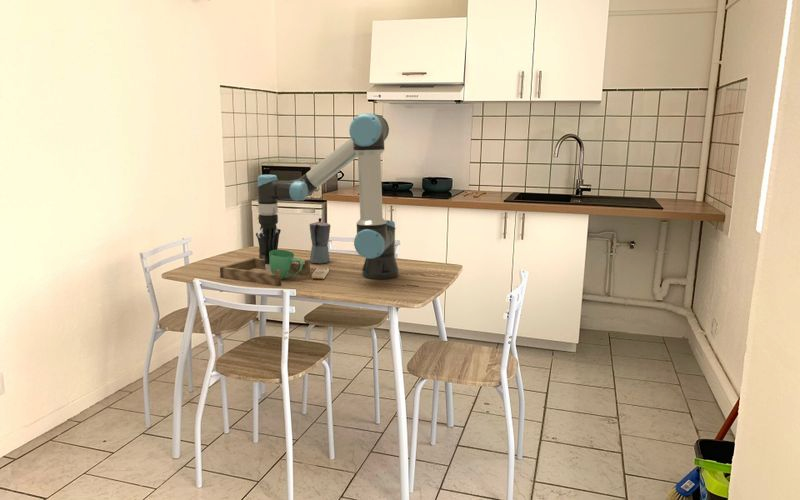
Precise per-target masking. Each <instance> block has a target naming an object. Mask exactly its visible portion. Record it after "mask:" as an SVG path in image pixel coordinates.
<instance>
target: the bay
mask: <svg viewBox="0 0 800 500" xmlns="http://www.w3.org/2000/svg"><path fill="white" fill-rule="evenodd" d="M258 256H259V257H253V258H249V259H245V260H242V261H238V262H235V263H234V262H233V263H230V264H227V265H224V266H220V267H219V275H220V278H222V279H223V278H224V279H230V280H237V281H243V282H250V283H256V282H257V283H258V284H263V285H271V286H276V287H280V286H282V279H281V270H278V269H277V270H275V274H272V273H271V272H262V271H255V270H253V269H261V270H266V266H265V256H262V255H261V253H260V248H258ZM298 269H299V262H296V263H295V262H292V263H291V267H290V269H289V271H288V273H287V274H293V273H294V272H295V271H297V270H298ZM297 274H298V275H303V276H309V275H311V262H310V259H305V260H304V263H303V266H302V270H301V271H300V272H299V273H297ZM297 274H296V275H297Z"/></svg>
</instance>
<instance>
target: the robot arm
mask: <svg viewBox="0 0 800 500" xmlns="http://www.w3.org/2000/svg"><path fill="white" fill-rule="evenodd" d="M348 130H349V131H348V133H349V136H350V138H349V139H347V140H346V141H345V142H344V143H342V144H341V145H340V146H339V147H337V148H336V149H335V150H333V151H332V152H331V153H330V154H329V155H328V156H326V157H325V158H324V159H322V160H321V161H319V162H318V163H317V164H316V165H315V166H314V167H312V168H311V169H310V170H309V171H307V172H306V173H305V174H303V175H302V176H300V177H299V178H297V179H294V180H279V179H278V177H277V175H276V174H260V175H258V176H257V185H256V188H257V203H258V206H257V207H258V210H257V211H258V224H260V228H259V231H258V232H256V233H255V236H256V238H257V243H258V246H259V248H258V249H260V253H261V255H262V256H265V266H266V269H265V273H272V271H271V267H270V259H269V252H270V251H271V250H279V239H280V234H281V232H282V231H281V229H280V228H277V224H278V222H279V216H278V213H279V211H278V210H279V209H278V206H279V205H278V200H281V201H282V200H284V201H295V202H298V201H305V200H306V199H307V197H309V196H311V195H312V194H314V192H315V191H316V190H317V189H318V188H319V187H320V186H322V185H324V183H326V182H327V181H328V180H329V179H331V178H332V177H334V176H335V175H337V173H338V172H340V171H342V170H343V169H344V168H345V167H347V166H348V165H349V164H350V163H352V162H353V161H354V160H355V159H357V168H358V196H359V198H358V199H359V216H360V217H359V219H358V220H357V222H356V235H355V237H354V240H353V247H354V249H355V252H356V253H358V254H359V255H360V257H362V258H365V260H364V263H363V266H362V270H361V271H362V273H361V274H362V277H365V278H367V279H371V280H372V279H374V280H387V279H394V278H397V277H398V276H399V275H400V271H399V270H400V269H399V266H398V263H397V260H396V257H395V256H396V254H395V253H396V250H395V249H396V248H395V247H396V243H395V242H396V224H395V221H394V220H389V219H388V220H387V219H386V220H385V218H384V217H383V189H382V188H383V187H382V159H381V158H382V156H381V155H382V153H384V152H385V141H386V140H387V138H388V136H389V133H390V127H389V124H388V122H387V120H386V118H384V117H383V116H381V115H380V114H377V113H368V112H367V113H361V114H359V115H356V117H354V118H353V119H352V121H351V123H350V124H349V129H348ZM274 255H275V254H274Z"/></svg>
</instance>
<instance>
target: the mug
mask: <svg viewBox="0 0 800 500" xmlns="http://www.w3.org/2000/svg"><path fill="white" fill-rule="evenodd" d="M274 254H275V255H274ZM269 259H270V267H271V271H272V272H271V274H275V270H277V269H278V270H281V280H282V279H286V278H290V277H294V276H296V275H297V273H299V272H300V271H301V270H302V266H303V264H304V262H303V259H301V258H298V257H295V254H294V253H293V252H292V251H290V250H284V249H277V250H271V251H270V252H269ZM295 262H296V263H298V264H299V269H298V270H297V271H295V272H294V273H288V271H289V269H290V267H291V263H295Z"/></svg>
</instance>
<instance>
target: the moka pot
mask: <svg viewBox="0 0 800 500" xmlns="http://www.w3.org/2000/svg"><path fill="white" fill-rule="evenodd" d="M309 231H310V240H311V251H310V256H309V258H310V259H309V260H310V264H311V263H312V264H328V263H330V261H331V260H330V251H329V240H330V233H331V224H330V223H327V222H324V221H323V219H322V218H321V217H319V218H318V221H316V222H311V223H309Z"/></svg>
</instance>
